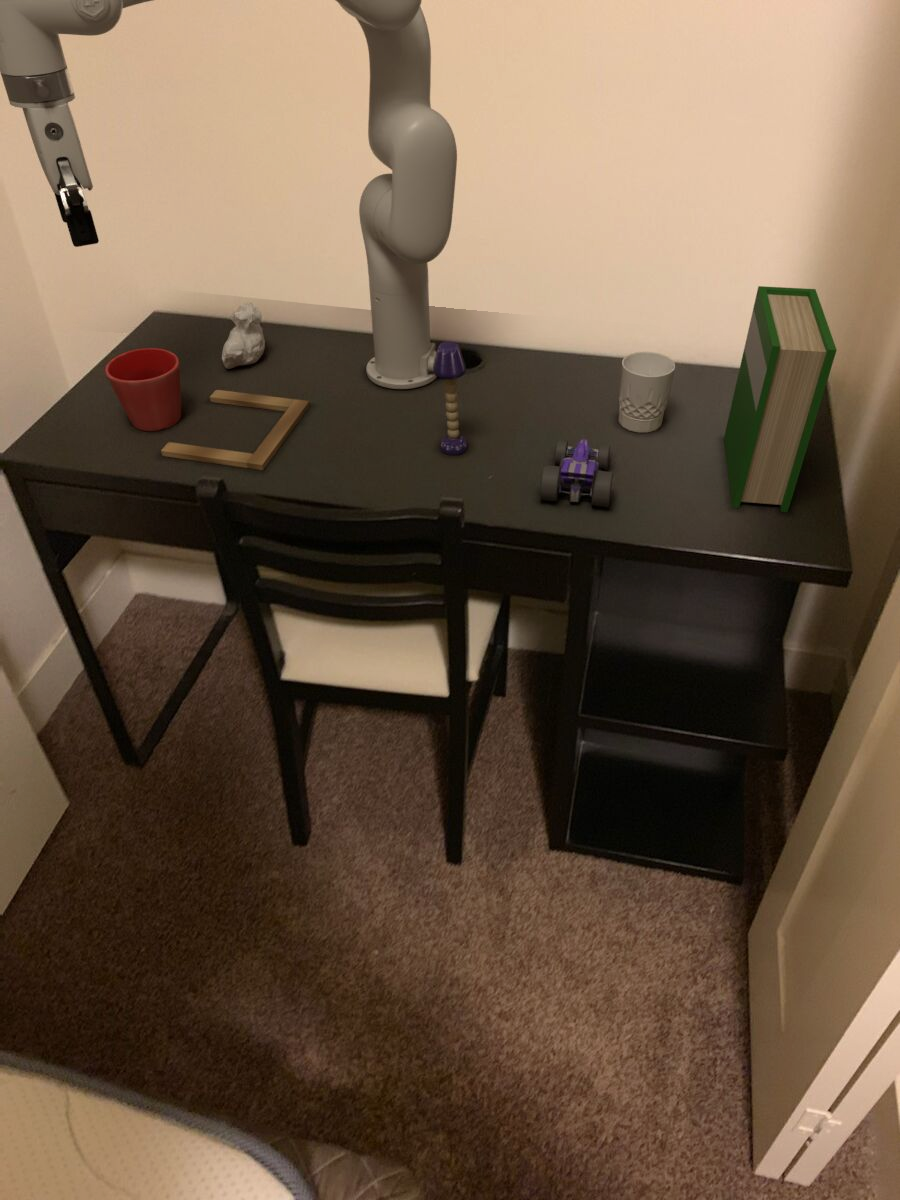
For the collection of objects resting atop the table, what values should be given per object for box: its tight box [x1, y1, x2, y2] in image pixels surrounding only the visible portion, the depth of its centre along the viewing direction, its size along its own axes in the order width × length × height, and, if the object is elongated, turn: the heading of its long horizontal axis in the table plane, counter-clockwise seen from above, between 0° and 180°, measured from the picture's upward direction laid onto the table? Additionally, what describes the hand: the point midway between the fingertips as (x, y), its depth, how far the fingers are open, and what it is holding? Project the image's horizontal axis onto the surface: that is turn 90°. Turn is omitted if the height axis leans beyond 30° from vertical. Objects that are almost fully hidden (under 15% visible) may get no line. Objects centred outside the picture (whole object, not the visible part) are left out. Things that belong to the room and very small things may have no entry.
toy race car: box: [539, 438, 614, 508], centre depth 126 cm, size 10×15×6 cm, turn 168°
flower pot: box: [104, 347, 182, 432], centre depth 139 cm, size 11×11×10 cm
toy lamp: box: [434, 341, 469, 456], centre depth 130 cm, size 5×5×17 cm
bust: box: [221, 301, 266, 370], centre depth 154 cm, size 12×8×11 cm
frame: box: [160, 389, 311, 471], centre depth 140 cm, size 16×19×1 cm
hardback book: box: [723, 285, 838, 513], centre depth 121 cm, size 18×7×24 cm, turn 171°
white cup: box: [618, 351, 676, 434], centre depth 137 cm, size 8×8×10 cm
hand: (80, 232), depth 118 cm, fingers open, 9 cm apart
